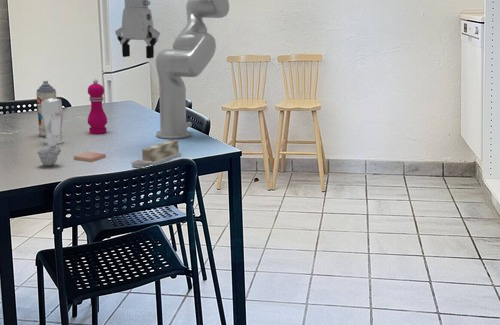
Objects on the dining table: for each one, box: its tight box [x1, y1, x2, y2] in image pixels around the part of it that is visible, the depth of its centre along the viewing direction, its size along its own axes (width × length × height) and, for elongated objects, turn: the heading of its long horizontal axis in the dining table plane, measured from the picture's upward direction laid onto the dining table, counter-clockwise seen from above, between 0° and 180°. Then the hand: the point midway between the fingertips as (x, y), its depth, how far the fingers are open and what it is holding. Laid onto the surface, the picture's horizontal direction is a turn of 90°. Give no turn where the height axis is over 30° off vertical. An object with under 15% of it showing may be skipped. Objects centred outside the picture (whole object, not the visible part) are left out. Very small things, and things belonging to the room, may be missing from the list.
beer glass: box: [41, 98, 64, 145], centre depth 229 cm, size 7×7×15 cm
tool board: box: [131, 152, 182, 169], centre depth 206 cm, size 19×5×1 cm, turn 153°
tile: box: [73, 151, 107, 163], centre depth 209 cm, size 2×7×7 cm
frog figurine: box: [37, 143, 62, 167], centre depth 199 cm, size 6×7×7 cm
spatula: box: [130, 139, 180, 166], centre depth 206 cm, size 20×5×4 cm, turn 152°
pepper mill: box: [87, 79, 108, 135], centre depth 246 cm, size 7×7×20 cm
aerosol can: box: [36, 80, 57, 138], centre depth 240 cm, size 7×7×20 cm
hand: (138, 57), depth 219 cm, fingers open, 9 cm apart
